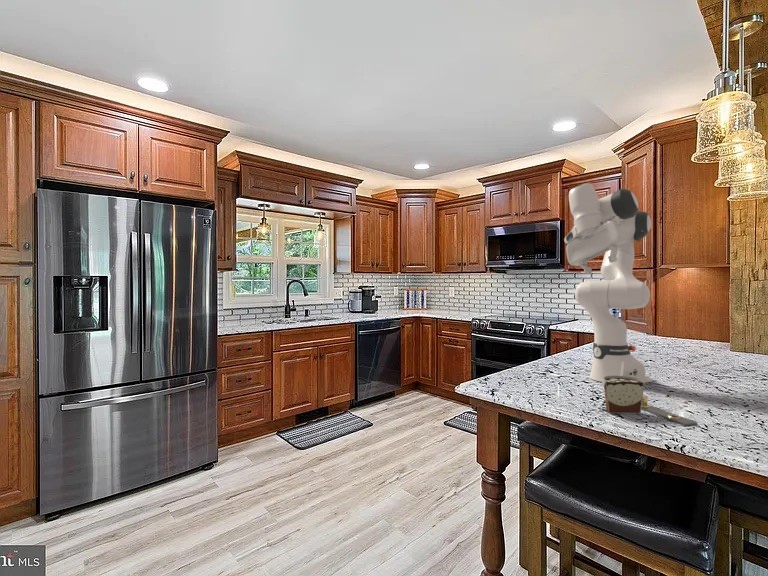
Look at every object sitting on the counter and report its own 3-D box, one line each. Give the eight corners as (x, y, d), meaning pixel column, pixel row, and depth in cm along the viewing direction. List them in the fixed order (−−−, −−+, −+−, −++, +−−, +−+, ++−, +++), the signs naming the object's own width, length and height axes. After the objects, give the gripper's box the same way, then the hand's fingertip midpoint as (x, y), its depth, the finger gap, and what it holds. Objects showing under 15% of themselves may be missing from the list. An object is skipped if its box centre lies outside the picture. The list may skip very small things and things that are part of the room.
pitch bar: (636, 402, 130) (636, 391, 130) (697, 424, 110) (697, 411, 110) (624, 403, 129) (625, 392, 129) (684, 425, 109) (684, 412, 109)
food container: (633, 407, 125) (633, 375, 125) (645, 413, 119) (646, 380, 119) (593, 406, 125) (593, 374, 125) (603, 413, 119) (604, 380, 119)
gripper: (625, 213, 123) (637, 254, 118) (574, 243, 141) (583, 280, 136) (610, 210, 121) (621, 252, 116) (560, 241, 139) (568, 278, 134)
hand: (600, 267), depth 126 cm, fingers open, 8 cm apart
